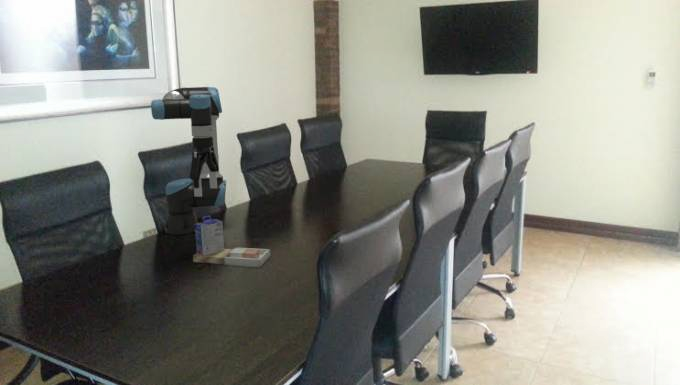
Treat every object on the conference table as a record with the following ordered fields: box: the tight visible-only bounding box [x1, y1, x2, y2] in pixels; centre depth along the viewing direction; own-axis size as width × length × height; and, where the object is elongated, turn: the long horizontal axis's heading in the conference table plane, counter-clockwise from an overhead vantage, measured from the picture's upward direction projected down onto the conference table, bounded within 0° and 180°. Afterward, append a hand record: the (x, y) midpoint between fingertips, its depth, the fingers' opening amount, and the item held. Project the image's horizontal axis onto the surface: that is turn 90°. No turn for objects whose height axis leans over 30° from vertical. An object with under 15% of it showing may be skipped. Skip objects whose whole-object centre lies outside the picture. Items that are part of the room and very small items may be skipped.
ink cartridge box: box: [194, 214, 225, 256], centre depth 217 cm, size 10×6×14 cm, turn 134°
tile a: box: [230, 247, 246, 258], centre depth 216 cm, size 5×5×3 cm
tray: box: [224, 246, 271, 268], centre depth 215 cm, size 14×12×3 cm
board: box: [192, 248, 234, 265], centre depth 218 cm, size 13×10×2 cm
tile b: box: [242, 249, 259, 259], centre depth 215 cm, size 5×5×3 cm
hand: (206, 192), depth 213 cm, fingers open, 13 cm apart
